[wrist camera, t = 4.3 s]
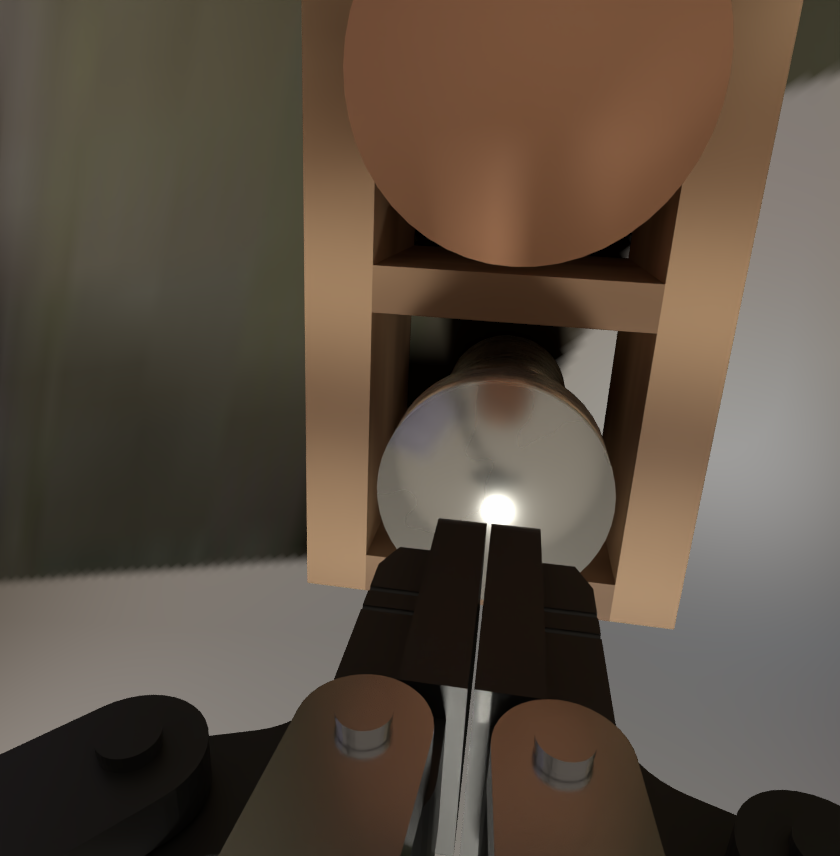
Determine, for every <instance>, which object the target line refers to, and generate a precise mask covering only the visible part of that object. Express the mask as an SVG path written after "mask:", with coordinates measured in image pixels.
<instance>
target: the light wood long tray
mask: <svg viewBox="0 0 840 856" xmlns="http://www.w3.org/2000/svg"><path fill="white" fill-rule="evenodd" d="M352 2H353V0H302V87H303V183H304V279H305V376H306V472H307V566H308V567H307V568H308V583H315V584H322V585H330V586H338V587H346V588H354V589H362V590H370V585H371V582H372V580H373V577H374V575H375V572H376V569H377V567H378V564H379V563H380V562H382V561H383V560H384V559H385V558H386V557H388V556H389V555H390V554H391V553H393V552H394V551H395V550H396V547H395V546H394V544H393V543H392V541H391V539H390V537H389V535H388V533H387V531H386V529H385V527H384V524H383V521H382V518H381V515H380V511H379V505H378V499H377V480H378V471H379V467H380V463H381V459H382V457H383V454H384V452H385V449H386V447H387V445H388V443H389V441H390V439H391V437H392V436H393V434H394V432H395V430H396V428H397V427H398V425H399V423H400V421H401V420H402V418H403V416H404V414H405V413H406V411H407V400H408V377H409V353H410V330H411V315H414V316H427V317H440V318H454V319H467V320H481V321H494V322H507V323H521V324H534V325H547V326H561V327H574V328H587V329H601V330H615V331H618V334H617V340H616V348H615V354H614V360H613V367H612V374H611V382H610V388H609V395H608V402H607V408H606V415H605V422H604V429H603V435H602V437H603V440H604V443H605V446H606V450H607V453H608V457H609V460H610V464H611V467H612V471H613V476H614V481H615V491H616V502H615V512H614V517H613V521H612V525H611V528H610V530H609V533H608V535H607V538H606V540H605V542H604V543H603V545H602V547H601V549H600V550H599V552H598V553H597V555H596V556H595V557H594V558H593V560H592V561H591V562H590V563H589V564H588V565H587V566H586V567H585V568H584V569H583V570H582V571H581V572H580V573H581V574H582V576H583V577H584V578H585V579H586V581H587V582H588V583H589V584H590V585H591V587H592V588H593V590H594V596H595V602H596V608H597V618H598V620H604V621H613V622H620V623H628V624H635V625H643V626H651V627H659V628H667V629H674V626H675V621H676V617H677V612H678V607H679V602H680V597H681V592H682V587H683V582H684V578H685V573H686V568H687V563H688V558H689V553H690V548H691V544H692V539H693V533H694V529H695V524H696V519H697V515H698V510H699V505H700V500H701V495H702V490H703V485H704V481H705V475H706V471H707V466H708V461H709V456H710V451H711V447H712V442H713V437H714V431H715V427H716V422H717V417H718V412H719V408H720V402H721V398H722V393H723V388H724V383H725V378H726V373H727V369H728V364H729V359H730V354H731V349H732V344H733V340H734V335H735V329H736V325H737V320H738V315H739V310H740V305H741V301H742V296H743V291H744V286H745V281H746V276H747V272H748V267H749V262H750V256H751V252H752V247H753V242H754V237H755V233H756V228H757V223H758V218H759V213H760V208H761V204H762V199H763V194H764V189H765V184H766V179H767V174H768V170H769V165H770V160H771V155H772V150H773V145H774V140H775V135H776V131H777V126H778V121H779V116H780V111H781V106H782V102H783V97H784V92H785V87H786V82H787V77H788V72H789V68H790V63H791V58H792V53H793V48H794V43H795V38H796V34H797V29H798V24H799V19H800V14H801V9H802V4H803V0H731V4H732V11H733V42H734V48H733V56H732V65H731V73H730V79H729V83H728V87H727V91H726V96H725V100H724V104H723V107H722V110H721V112H720V115H719V118H718V121H717V123H716V126H715V129H714V131H713V134H712V136H711V138H710V140H709V141H708V143H707V145H706V147H705V149H704V151H703V153H702V155H701V157H700V159H699V160H698V162H697V163H696V165H695V166H694V168H693V169H692V171H691V172H690V174H689V175H688V177H687V178H686V180H685V181H684V183H683V184H682V185H681V186H680V187H679V189H678V190H677V191H676V192H675V193H674V194H673V196H672V197H671V198H670V199H669V200H668V202H667V203H666V204H664V205H663V206H662V207H661V208H660V209H659V210H658V211H657V212H656V213H655V214H654V215H653V216H652V217H651V218H649V219H648V220H647V221H646V222H645V223H643V224H642V225H640V226H639V227H638V228H636V229H635V230H634V231H632V238H631V245H630V252H629V258H613V257H596V256H584V257H581V258H578V259H574V260H570V261H566V262H563V263H559V264H552V265H545V266H537V267H509V266H502V265H494V264H488V263H484V262H481V261H477V260H473V259H470V258H466V257H464V256H462V255H459V254H457V253H455V252H452V251H450V250H447V249H445V248H444V247H434V246H418V245H414V236H415V228H414V227H413V226H411V225H410V224H409V223H408V222H407V221H406V220H405V219H404V218H403V217H402V216H401V215H400V214H399V213H398V212H397V211H396V210H395V209H394V208H393V207H392V206H391V204H390V203H389V202H388V200H387V199H386V198H385V196H384V195H383V194H382V192H381V191H380V190H379V188H378V187H377V185H376V184H375V182H374V180H373V178H372V177H371V175H370V173H369V171H368V170H367V168H366V166H365V164H364V162H363V159H362V157H361V154H360V152H359V150H358V147H357V145H356V142H355V139H354V135H353V132H352V129H351V125H350V122H349V118H348V112H347V106H346V100H345V94H344V75H343V59H344V44H345V35H346V29H347V24H348V18H349V13H350V9H351V5H352ZM483 601H484V600H480V605H483Z"/></svg>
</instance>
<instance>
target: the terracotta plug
mask: <svg viewBox="0 0 840 856" xmlns="http://www.w3.org/2000/svg"><path fill="white" fill-rule="evenodd" d="M733 48H734V42H733V11H732V4H731V0H353V2H352V5H351V9H350V13H349V18H348V24H347V29H346V35H345V44H344V59H343V75H344V94H345V100H346V106H347V112H348V118H349V122H350V125H351V129H352V132H353V135H354V139H355V142H356V145H357V147H358V150H359V152H360V154H361V157H362V159H363V162H364V164H365V166H366V168H367V170H368V171H369V173H370V175H371V177H372V178H373V180H374V182H375V184H376V185H377V187H378V188H379V190H380V191H381V192H382V194H383V195H384V196H385V198H386V199H387V200H388V202H389V203H390V204H391V206H392V207H393V208H394V209H395V210H396V211H397V212H398V213H399V214H400V215H401V216H402V217H403V218H404V219H405V220H406V221H407V222H408V223H409V224H410V225H411V226H413V227H414V228H415V229H417V230H418V231H419V232H420V233H422V234H423V235H424V236H425V237H427V238H428V239H430V240H432V241H434V242H435V243H437V244H439V245H440V246H442V247H444V248H445V249H447V250H450V251H452V252H455V253H457V254H459V255H462V256H464V257H466V258H470V259H473V260H477V261H481V262H484V263H488V264H494V265H502V266H509V267H537V266H545V265H552V264H559V263H563V262H566V261H570V260H574V259H578V258H581V257H584V256H586V255H589V254H591V253H594V252H596V251H599V250H601V249H603V248H606V247H607V246H609V245H611V244H613V243H614V242H616V241H618V240H620V239H622V238H623V237H625V236H627V235H628V234H630V233H631V232H632V231H634V230H635V229H636V228H638V227H639V226H640V225H642V224H643V223H645V222H646V221H647V220H648V219H649V218H651V217H652V216H653V215H654V214H655V213H656V212H657V211H658V210H659V209H660V208H661V207H662V206H663V205H664V204H666V203H667V202H668V200H669V199H670V198H671V197H672V196H673V194H674V193H675V192H676V191H677V190H678V189H679V187H680V186H681V185H682V184H683V183H684V181H685V180H686V178H687V177H688V175H689V174H690V172H691V171H692V169H693V168H694V166H695V165H696V163H697V162H698V160H699V159H700V157H701V155H702V153H703V151H704V149H705V147H706V145H707V143H708V141H709V140H710V138H711V136H712V134H713V131H714V129H715V126H716V123H717V121H718V118H719V115H720V112H721V110H722V107H723V104H724V100H725V96H726V91H727V87H728V83H729V79H730V73H731V65H732V56H733Z"/></svg>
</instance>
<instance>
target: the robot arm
mask: <svg viewBox="0 0 840 856" xmlns="http://www.w3.org/2000/svg"><path fill="white" fill-rule="evenodd" d="M486 531H487V523H481V522H472V521H463V520H453V519H444V518H439V519H438V522H437V526H436V530H435V533H434V537H433V541H432V545H431V549H430V550H424V549H415V548H406V547H399V548H398V549H396V550H395V551H394V552H393V553H391V554H390V555H389V556H388V557H386V558H385V559H384V560H383V561H382V562H380V563H379V564H378V567H377V569H376V572H375V575H374V577H373V580H372V582H371V585H370V590H368V593H367V595H366V598H365V600H364V603H363V608H362V609H361V611H360V613H359V616H358V619H357V621H356V624H355V626H354V629H353V632H352V634H351V637H350V639H349V642H348V645H347V647H346V650H345V652H344V655H343V657H342V660H341V663H340V665H339V668H338V670H337V673H336V676H335V678H334V680H333V681H330V682H327V683H326V684H324V685H322V686H320V687H318V688H317V689H316V690H315V691H313V692H312V693H311V694H309V695H308V697H306V699H305V700H304V701H303V702H302V704H301V705H300V707H299V708H298V710H297V711H296V713H295V715H294V717H293V719H292V721H289V722H287V723H285V724H282V725H279V726H275V727H272V728H267V729H261V730H255V731H248V732H239V733H231V734H222V735H213V736H209V734H208V726H207V723H206V720H205V718H204V717H203V715H202V714H201V712H200V711H198V709H197V708H195V707H194V706H193V705H191V704H189V703H188V702H186V701H184V700H181V699H178V698H175V697H170V696H165V695H144V696H137V697H131V698H126V699H123V700H120V701H116V702H113V703H111V704H108V705H106V706H104V707H102V708H99V709H97V710H95V711H93V712H91V713H88V714H86V715H84V716H82V717H80V718H78V719H76V720H73V721H71V722H69V723H67V724H65V725H63V726H60V727H58V728H56V729H54V730H52V731H50V732H48V733H45V734H43V735H41V736H39V737H37V738H35V739H33V740H30V741H28V742H26V743H24V744H22V745H20V746H17V747H15V748H13V749H11V750H9V751H7V752H5V753H2V754H0V856H435V854H440V855H446V856H454V847H455V837H456V828H457V820H458V810H459V801H460V792H461V783H462V773H463V764H464V755H465V746H466V736H467V727H468V718H469V709H470V699H471V690H472V681H473V672H474V662H475V652H476V642H477V632H478V622H479V611H480V600H481V589H482V577H483V566H484V554H485V543H486ZM600 636H601V633H600V627H599V621H598V618H597V608H596V602H595V596H594V590H593V588H592V587H591V585H590V584H589V583H588V582H587V581H586V579H585V578H584V577H583V576H582V574H581V573H580V572H579V571H578V570H577V568H576V567H574V566H565V565H557V564H548V563H542V548H541V529H538V528H529V527H519V526H510V525H501V524H492V523H491V533H490V542H489V552H488V562H487V572H486V582H485V591H484V601H483V611H482V621H481V630H480V640H479V650H478V660H477V670H476V680H475V689H474V700H473V712H472V723H471V734H470V745H469V756H468V757H469V758H468V768H467V779H466V790H465V802H464V813H463V824H462V835H461V846H460V856H840V806H839V805H837V804H835V803H833V802H831V801H828V800H826V799H823V798H820V797H817V796H814V795H811V794H807V793H802V792H798V791H789V790H771V791H767V792H762V793H759V794H757V795H755V796H753V797H751V798H749V799H748V800H747V801H746V802H745V803H743V805H742V806H741V808H740V809H739V811H738V813H737V815H734V814H732V813H729V812H727V811H725V810H722V809H720V808H717V807H715V806H712V805H710V804H708V803H705V802H703V801H701V800H698V799H696V798H693V797H691V796H688V795H686V794H684V793H682V792H680V791H678V790H676V789H674V788H672V787H670V786H669V785H667V784H665V783H663V782H662V781H660V780H659V779H658V778H656V777H655V776H654V775H652V774H651V773H649V772H648V771H647V770H646V769H645V768H644V767H643V766H641V764H639V763H638V759H637V756H636V754H635V751H634V749H633V747H632V745H631V744H630V742H629V740H628V739H627V737H626V736H625V735H624V734H623V733H622V732H621V730H620V729H619V728H617V727H616V724H615V719H614V712H613V707H612V701H611V695H610V688H609V682H608V676H607V669H606V664H605V657H604V651H603V645H602V640H601V639H600Z"/></svg>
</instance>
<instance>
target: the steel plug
mask: <svg viewBox="0 0 840 856" xmlns="http://www.w3.org/2000/svg"><path fill="white" fill-rule="evenodd" d="M377 499H378V505H379V511H380V515H381V518H382V521H383V524H384V527H385V529H386V531H387V533H388V535H389V537H390V539H391V541H392V543H393V544H394V546H395V547H396V549H398V548H399V547H406V548H415V549H424V550H430V549H431V545H432V541H433V537H434V533H435V530H436V526H437V522H438V519H439V518H444V519H453V520H463V521H472V522H481V523H487V531H486V543H485V554H484V566H483V577H482V589H481V600H484V591H485V582H486V572H487V562H488V552H489V542H490V533H491V523H492V524H501V525H510V526H519V527H529V528H538V529H541V548H542V563H548V564H557V565H565V566H574V567H576V568H577V570H578V571H579V572H581V571H582V570H583V569H584V568H585V567H586V566H587V565H588V564H589V563H590V562H591V561H592V560H593V558H594V557H595V556H596V555H597V553H598V552H599V550H600V549H601V547H602V545H603V543H604V542H605V540H606V538H607V535H608V533H609V530H610V528H611V525H612V521H613V517H614V512H615V502H616V491H615V481H614V476H613V471H612V467H611V464H610V460H609V457H608V453H607V450H606V446H605V443H604V440H603V437H602V435H601V432H600V429H599V427H598V426H597V424H596V422H595V420H594V418H593V416H592V415H591V414H590V412H589V411H588V410H587V408H586V407H585V406H584V404H583V403H582V402H581V401H580V400H579V399H578V398H577V397H576V396H575V395H574V394H572V393H571V392H570V391H569V390H567V389H566V388H565V385H564V380H563V376H562V373H561V370H560V368H559V366H558V364H557V363H556V361H555V360H554V358H553V357H552V356H551V355H550V354H549V353H548V352H547V351H546V350H545V349H544V348H543V347H541V346H540V345H538V344H537V343H535V342H533V341H531V340H528V339H526V338H522V337H518V336H511V335H502V336H495V337H491V338H487V339H485V340H482V341H480V342H478V343H476V344H475V345H473V346H472V347H470V348H469V349H468V350H467V351H466V352H465V353H464V354H463V355H462V356H461V357H460V359H459V360H458V361H457V363H456V365H455V366H454V369H453V371H452V373H451V375H449V376H447V377H445V378H444V379H442V380H440V381H438V382H436V383H435V384H433V385H432V386H431V387H429V388H428V389H427V390H425V391H424V392H423V393H422V394H421V395H420V396H419V397H418V398H417V399H416V400H415V401H414V402H413V403H412V405H411V406H410V407H409V408H408V410H407V411H406V413H405V414H404V416H403V418H402V420H401V421H400V423H399V425H398V427H397V428H396V430H395V432H394V434H393V436H392V437H391V439H390V441H389V443H388V445H387V447H386V449H385V452H384V454H383V457H382V459H381V463H380V467H379V471H378V480H377Z"/></svg>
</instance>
